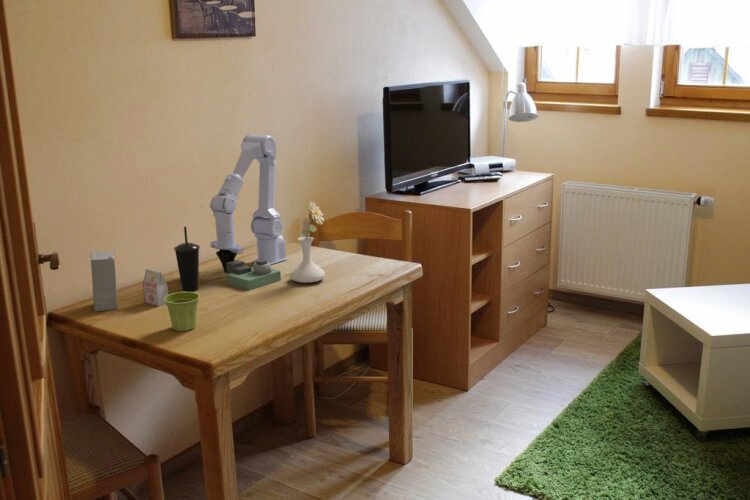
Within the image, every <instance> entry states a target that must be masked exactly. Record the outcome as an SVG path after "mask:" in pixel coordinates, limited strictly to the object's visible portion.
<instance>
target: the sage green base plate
mask: <svg viewBox="0 0 750 500" xmlns="http://www.w3.org/2000/svg"><path fill="white" fill-rule="evenodd" d="M250 267H251V268H252V272H249V273H245V274H242V275H238V274H235V273H229V274H227V273H226V277H225V278H226V284H228V285H231V286H235V287H238V288H240V289H241V288H242V289H244V290H248V291H251V290H253V289H256V288H260V287H264V286H266V285H270V284H273V283H277V282H279V281H281V280H282V277H281V274H282V273H281V270H279V269H274V268H272V264H271V263H270V262H267V261H266V260H259V261H256V262H253V264H252V266H250Z"/></svg>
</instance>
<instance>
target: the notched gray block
mask: <svg viewBox="0 0 750 500" xmlns="http://www.w3.org/2000/svg"><path fill="white" fill-rule="evenodd" d="M245 263H246V262H245V261H244V260H239V259H235V260H234V261H231V262H228V263H226V266H227V273H226V274H229V273H235V274H238V275H242V274H245V273H249V272H252V268H251V267H252V266H249V265H245Z"/></svg>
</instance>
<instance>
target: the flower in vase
mask: <svg viewBox="0 0 750 500" xmlns="http://www.w3.org/2000/svg"><path fill="white" fill-rule="evenodd" d="M308 212H309V214H310V216H311V217H310V219H309V222H308V226H307V230H306V229H302V230H301V232H300V234H303V235H306V236H301V237H298V238H297V239H298V241H299V243H300V245H301V248H302V249H301V250H302V254H303V255H302V256H303V257H302V261H301V263H300V264H299V265H298V266H296V267H295V268H294V269H293V270H292V271H291V272H290V274H289V278H290V280H292V281H294V282H296V283H304V284H307V283H315V282H319V281H321V280H323V279H324V278H325V277H326V273H325V270H323V269H322V268H321V267H320V266H318V265H317V264H315V263H314V262H313V261H312V258H311V246H312V243H313V241H314V239H315V238H314V237H313V236H308V235H309V233H310V231H311V233H315V232H316V231H317V227H316V226H315V225H314V224H311V223H312V220H313V221H314V222H315V223H316V224H317V225H320V226H321V225H323V224H324V223H323V222H325V219H324V217H323V216H324V213H323V212H322V210H320V206H317V205H316V203H315V202H314V201H310V202H309V203H308Z"/></svg>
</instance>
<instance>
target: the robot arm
mask: <svg viewBox="0 0 750 500" xmlns="http://www.w3.org/2000/svg"><path fill="white" fill-rule="evenodd" d="M240 148H241V152H240V155H239V157H238V159H237V162H236V164H235V166H234V168H233V169H234V170H233V171H232V173H229V174H227V176H226V177H225V179H224V181H223V183H222V186H221V187H220V189H219V191H218V194H215V195H214V196H213V197H211V201H210V204H209V208H210V209H211V211H212V213H213V214H212V215H213V217H214V220H215V231H216V232H215V233H216V240H212V241H210V242H209V246H210V248H211V249H215V250H217V251H216V252H215V254H216V256H217V257H218V259H219V262H220V263H221V266H222V268H223V271H224V273H226V274H227V266H226V263H228V262H231V261H235V260H236V257H237V255H242V254H244V248H243V247H242V246H241V245H238V244H237V243H236V237H235V224H234V223H235V222H234V220H235V219H234V212H235V210H236V209H237V204H238V202H237V201H238V196H239V194H240V191H241V189H242V188H243V185H244V180H243V178H244V176H245V174H246V172H247V171H248V169H249V167H250V166H251V164H252V162H253V161H254V160H257V162H258V163H259V181H258V182H259V183H258V206H257V207H258V208H257V209H256V210H255V211H254V212H253V214H252V220H251V221H250V230H251V232H252V233H253V234H254V237H255V238H256V246H257V247H256V250H257V251H256V252H257V258H256V259H253V260H252V262H253V263H256V261H259V260H266V261H267V262H270V263H271V265H273V264H276V263H281V262H284V261H287V260H288V257H286V256H287V255H286V253H287V252H286V241H285V238H284V237H283V235H281V233H282V230H283V224H282V216H281V214H280V213H279V212H278V211H277V210H276V209H275V202H276V201H275V199H276V198H275V196H276V169H277V168H276V167H277V141H276V140H275V138H274V137H273V136H272V135H269V134H267V135H262V134H261V135H259V134H246V135H245V136H244V137H243V139H242V142H241V143H240Z"/></svg>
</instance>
